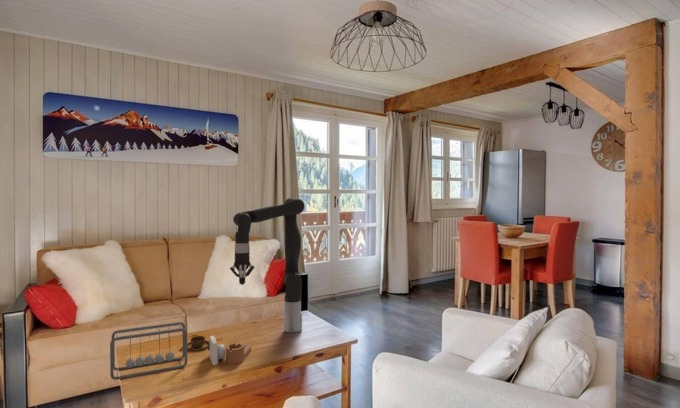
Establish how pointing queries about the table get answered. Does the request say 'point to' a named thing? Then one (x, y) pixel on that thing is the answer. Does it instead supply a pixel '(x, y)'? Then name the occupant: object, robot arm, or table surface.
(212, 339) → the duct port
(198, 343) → the place setting
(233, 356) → the bracket
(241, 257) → the robot arm
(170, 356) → the newton's cradle
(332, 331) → the table surface
